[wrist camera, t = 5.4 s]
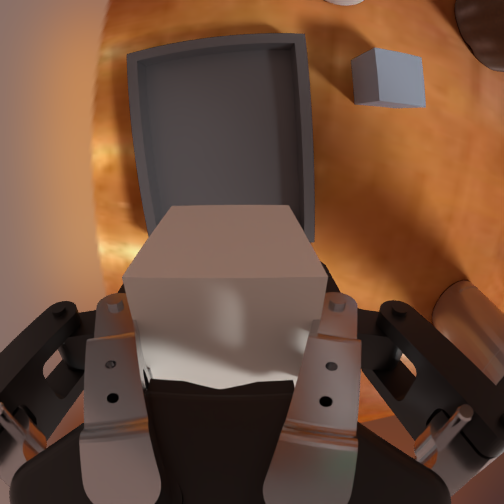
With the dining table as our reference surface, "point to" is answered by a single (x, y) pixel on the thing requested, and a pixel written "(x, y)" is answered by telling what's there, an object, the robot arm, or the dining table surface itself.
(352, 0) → the milk bottle
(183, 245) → the cream block
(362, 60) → the slate blue block
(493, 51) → the plant pot
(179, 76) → the dark grey tray
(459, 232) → the dining table surface
